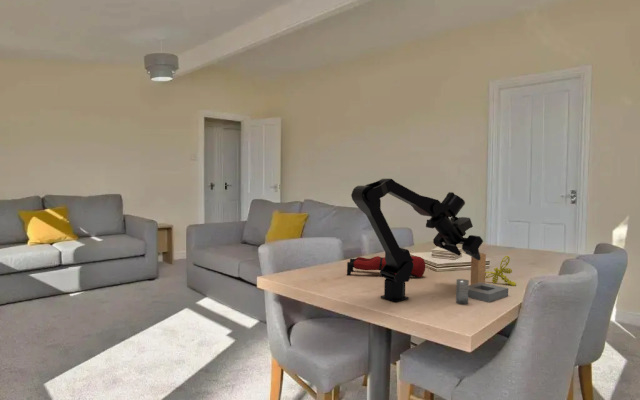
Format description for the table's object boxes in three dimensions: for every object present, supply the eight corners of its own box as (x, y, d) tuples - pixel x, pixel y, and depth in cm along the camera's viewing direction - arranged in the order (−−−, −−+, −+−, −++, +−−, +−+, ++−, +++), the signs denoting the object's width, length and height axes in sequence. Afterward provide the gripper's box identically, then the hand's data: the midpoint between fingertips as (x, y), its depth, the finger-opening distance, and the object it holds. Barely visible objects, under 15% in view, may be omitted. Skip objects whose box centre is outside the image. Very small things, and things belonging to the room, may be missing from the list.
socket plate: (488, 302, 134) (489, 294, 134) (460, 295, 142) (460, 287, 142) (508, 295, 142) (508, 288, 142) (480, 289, 150) (480, 282, 150)
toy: (342, 282, 160) (425, 287, 154) (342, 260, 160) (426, 264, 153) (353, 266, 188) (424, 270, 181) (353, 247, 187) (424, 250, 181)
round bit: (463, 305, 131) (464, 282, 131) (453, 302, 134) (454, 280, 134) (470, 303, 134) (471, 280, 133) (460, 300, 136) (460, 278, 136)
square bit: (477, 288, 151) (478, 254, 150) (470, 286, 154) (471, 252, 153) (484, 287, 152) (485, 253, 152) (477, 285, 155) (478, 252, 155)
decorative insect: (496, 298, 158) (478, 275, 161) (498, 295, 160) (480, 273, 163) (526, 278, 152) (506, 255, 155) (527, 276, 155) (508, 253, 158)
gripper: (479, 211, 139) (503, 243, 144) (440, 207, 156) (462, 236, 161) (460, 237, 136) (485, 269, 141) (422, 230, 153) (446, 258, 158)
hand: (469, 256), depth 151 cm, fingers open, 9 cm apart
